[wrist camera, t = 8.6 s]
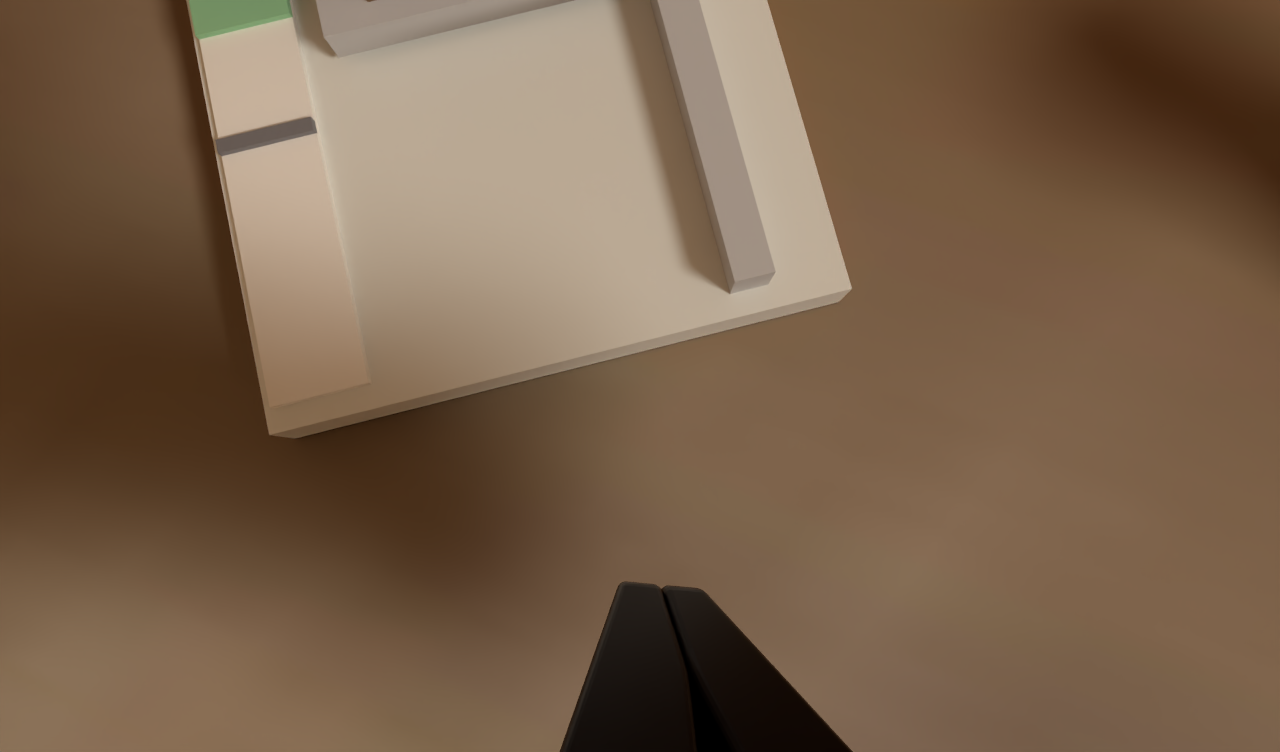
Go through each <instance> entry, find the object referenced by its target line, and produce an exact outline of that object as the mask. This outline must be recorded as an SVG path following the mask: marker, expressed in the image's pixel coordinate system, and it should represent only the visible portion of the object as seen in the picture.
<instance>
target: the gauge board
mask: <svg viewBox="0 0 1280 752" xmlns="http://www.w3.org/2000/svg"><path fill="white" fill-rule="evenodd" d="M186 2H187V7H188V12H189V17H190V23H191V28H192V33H193V38H194V44H195V49H196V54H197V59H198V65H199V70H200V75H201V80H202V85H203V91H204V96H205V101H206V106H207V112H208V117H209V122H210V127H211V133H212V138H213V143H214V148H215V154H216V159H217V164H218V169H219V175H220V180H221V185H222V190H223V196H224V201H225V206H226V211H227V217H228V222H229V227H230V232H231V238H232V243H233V248H234V253H235V259H236V264H237V269H238V274H239V280H240V285H241V290H242V295H243V301H244V306H245V311H246V316H247V322H248V327H249V332H250V337H251V343H252V348H253V353H254V358H255V364H256V369H257V374H258V379H259V385H260V390H261V395H262V400H263V406H264V411H265V416H266V421H267V427H268V432H269V435H272V436H279V437H287V438H294V439H295V438H299V437H303V436H307V435H311V434H315V433H319V432H323V431H327V430H331V429H335V428H339V427H343V426H347V425H351V424H355V423H359V422H363V421H367V420H371V419H375V418H379V417H383V416H387V415H391V414H395V413H399V412H403V411H407V410H411V409H415V408H419V407H423V406H427V405H431V404H435V403H439V402H443V401H447V400H451V399H455V398H459V397H463V396H467V395H471V394H475V393H478V392H482V391H486V390H490V389H494V388H498V387H502V386H506V385H510V384H514V383H518V382H522V381H526V380H530V379H534V378H538V377H542V376H546V375H550V374H554V373H558V372H562V371H566V370H570V369H574V368H578V367H582V366H586V365H590V364H594V363H598V362H602V361H606V360H610V359H614V358H618V357H622V356H626V355H630V354H634V353H638V352H642V351H646V350H650V349H654V348H658V347H662V346H665V345H669V344H673V343H677V342H681V341H685V340H689V339H693V338H697V337H701V336H705V335H709V334H713V333H717V332H721V331H725V330H729V329H733V328H737V327H741V326H745V325H749V324H753V323H757V322H761V321H765V320H769V319H773V318H777V317H781V316H785V315H789V314H793V313H797V312H801V311H805V310H809V309H813V308H817V307H821V306H825V305H829V304H833V303H837V302H839V301H840V300H841V299H842V298H843V297H844V296H845V295H846V294H847V293H848V292H849V291H850V290H851V289H852V288H851V284H850V281H849V277H848V274H847V271H846V267H845V264H844V260H843V257H842V254H841V250H840V247H839V243H838V240H837V237H836V233H835V230H834V226H833V223H832V220H831V216H830V213H829V209H828V206H827V203H826V199H825V196H824V192H823V189H822V186H821V182H820V179H819V175H818V172H817V169H816V165H815V162H814V158H813V155H812V152H811V148H810V145H809V141H808V138H807V135H806V131H805V128H804V124H803V121H802V118H801V114H800V111H799V107H798V104H797V101H796V97H795V94H794V90H793V87H792V84H791V80H790V77H789V73H788V70H787V67H786V63H785V60H784V56H783V53H782V50H781V46H780V43H779V39H778V36H777V33H776V29H775V26H774V22H773V19H772V16H771V12H770V9H769V5H768V2H767V0H574V1H570V2H566V3H562V4H558V5H554V6H549V7H545V8H541V9H537V10H533V11H529V12H525V13H521V14H517V15H512V16H508V17H504V18H500V19H496V20H492V21H488V22H484V23H480V24H475V25H471V26H467V27H463V28H459V29H455V30H451V31H447V32H442V33H438V34H434V35H430V36H426V37H422V38H418V39H414V40H410V41H405V42H401V43H397V44H393V45H389V46H385V47H381V48H377V49H373V50H368V51H364V52H360V53H356V54H352V55H348V56H344V57H340V58H339V57H338V56H337V54H336V53H335V52H334V50H333V49H332V48H331V46H330V45H329V44H328V42H327V41H326V39H325V38H324V36H323V31H322V27H321V22H320V17H319V13H318V8H317V3H316V0H186Z"/></svg>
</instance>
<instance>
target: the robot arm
mask: <svg viewBox="0 0 1280 752" xmlns="http://www.w3.org/2000/svg"><path fill="white" fill-rule="evenodd" d="M560 752H853V751H852V750H851V749H850V748H849V747H848V746H847V745H846V744H845V743H844V742H843V741H842V740H841V738H840V737H839V736H838V735H837V734H836V733H835V732H834V731H833V730H832V729H831V728H830V727H829V725H828V724H827V723H826V722H825V721H824V720H823V719H822V718H821V717H820V716H819V715H818V714H817V712H816V711H815V710H814V709H813V708H812V707H811V706H810V705H809V704H808V703H807V702H806V701H805V700H804V698H803V697H802V696H801V695H800V694H799V693H798V692H797V691H796V690H795V689H794V688H793V687H792V685H791V684H790V683H789V682H788V681H787V680H786V679H785V678H784V677H783V676H782V675H781V674H780V672H779V671H778V670H777V669H776V668H775V667H774V666H773V665H772V664H771V663H770V662H769V661H768V659H767V658H766V657H765V656H764V655H763V654H762V653H761V652H760V651H759V650H758V649H757V648H756V646H755V645H754V644H753V643H752V642H751V641H750V640H749V639H748V638H747V637H746V636H745V635H744V634H743V632H742V631H741V630H740V629H739V628H738V627H737V626H736V625H735V624H734V623H733V622H732V621H731V619H730V618H729V617H728V616H727V615H726V614H725V613H724V612H723V611H722V610H721V609H720V608H719V606H718V605H717V604H716V603H715V602H714V601H713V600H712V599H711V598H710V597H709V596H708V595H707V594H706V593H705V592H704V591H703V590H701V589H698V588H691V587H680V586H665V587H663V588H662V589H661V588H660V587H658V586H657V585H655V584H647V583H637V582H622V583H620V584H619V586H618V588H617V590H616V593H615V596H614V599H613V602H612V605H611V607H610V610H609V613H608V616H607V619H606V622H605V624H604V627H603V630H602V633H601V636H600V639H599V641H598V644H597V647H596V650H595V653H594V656H593V658H592V661H591V664H590V667H589V670H588V673H587V676H586V678H585V681H584V684H583V687H582V690H581V693H580V695H579V698H578V701H577V704H576V707H575V710H574V712H573V715H572V718H571V721H570V724H569V727H568V729H567V732H566V735H565V738H564V741H563V744H562V746H561V749H560Z"/></svg>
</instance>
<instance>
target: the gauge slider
mask: <svg viewBox="0 0 1280 752" xmlns="http://www.w3.org/2000/svg"><path fill="white" fill-rule="evenodd" d="M570 1H574V0H316V3H317V8H318V13H319V17H320V22H321V27H322V31H323V36H324V38H325V39H326V41H327V42H328V44H329V45H330V46H331V48H332V49H333V50H334V52H335V53H336V54H337V56H338V57H339V58H340V57H344V56H348V55H352V54H356V53H360V52H364V51H368V50H373V49H377V48H381V47H385V46H389V45H393V44H397V43H401V42H405V41H410V40H414V39H418V38H422V37H426V36H430V35H434V34H438V33H442V32H447V31H451V30H455V29H459V28H463V27H467V26H471V25H475V24H480V23H484V22H488V21H492V20H496V19H500V18H504V17H508V16H512V15H517V14H521V13H525V12H529V11H533V10H537V9H541V8H545V7H549V6H554V5H558V4H562V3H566V2H570Z"/></svg>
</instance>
